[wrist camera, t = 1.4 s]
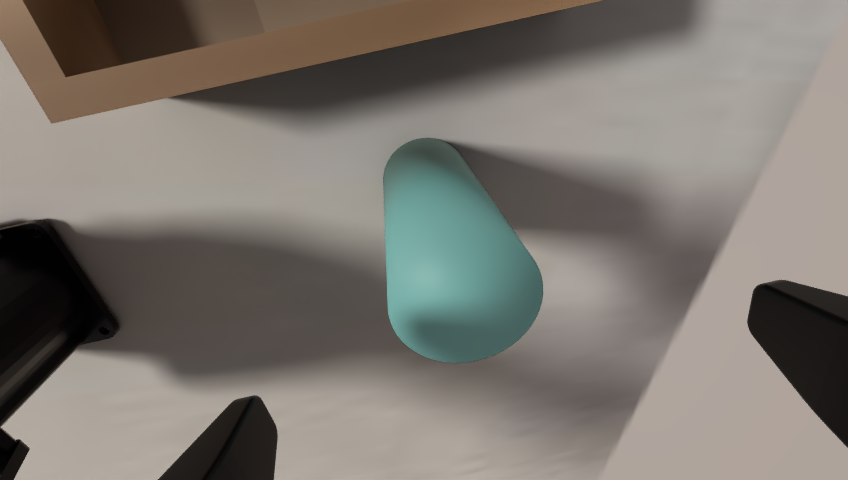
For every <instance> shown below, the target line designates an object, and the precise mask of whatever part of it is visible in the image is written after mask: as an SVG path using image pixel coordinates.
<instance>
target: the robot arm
mask: <svg viewBox="0 0 848 480" xmlns="http://www.w3.org/2000/svg"><path fill="white" fill-rule="evenodd" d="M36 229H38V230H39V231H40V232H41V233H42V235H41V234H39V233H38V232H37V231H36ZM747 323H748V327H749V330H750V332H751V334H752V335H753V337H754V338H755V339H756V341H757V342H758V343H759V344H760V346H761V347H762V348H763V349H764V351H765V352H766V353H767V354H768V356H769V357H770V358H771V359H772V361H773V362H774V363H775V364H776V366H777V367H778V368H779V369H780V371H781V372H782V373H783V374H784V376H785V377H786V378H787V379H788V381H789V382H790V383H791V384H792V386H793V387H794V388H795V389H796V391H797V392H798V393H799V394H800V396H801V397H802V398H803V399H804V401H805V402H806V403H807V404H808V405H809V406H810V408H811V409H812V410H813V411H814V412H815V413H816V414H817V416H818V417H820V419H821V420H822V421H823V422H824V423H825V424H826V425H827V426H828V428H829V429H830V430H831V431H832V432H833V433H834V434H835V435H836V436H837V437H838V438H839V439H840V440H841V441H842V442H843V443H844V444H845V445H846V447H847V448H848V296H844V295H840V294H836V293H832V292H829V291H825V290H821V289H817V288H814V287H809V286H806V285H802V284H798V283H794V282H791V281H786V280H777V281H772V282H768V283H764V284H760V285H758V286H756V288H755V289H754V291H753V294H752V299H751V305H750V310H749V314H748V321H747ZM104 327H107V328H108V329H109V330H108V329H106V328H104ZM119 327H120V326H119V324H118V322H117V321H116V319H115V318H114V316H113V315H112V313H111V312H110V310H109V309H108V308H107V306H106V305H105V303H104V302H103V300H102V299H101V297H100V296H99V294H98V293H97V291H96V290H95V288H94V287H93V285H92V284H91V283H90V281H89V280H88V278H87V277H86V275H85V274H84V272H83V271H82V269H81V268H80V266H79V265H78V263H77V262H76V260H75V259H74V257H73V256H72V255H71V253H70V252H69V250H68V249H67V247H66V246H65V244H64V243H63V241H62V240H61V238H60V237H59V235H58V234H57V232H56V231H55V230H54V228H53V227H52V226H51V225H50V224H49V223H47V222H46V221H43V220H33V221H28V222H24V223H19V224H15V225H10V226H6V227H1V228H0V480H14V478H15V476H16V474H17V472H18V470H19V468H20V467H21V465H22V463H23V461H24V459H25V457H26V455H27V453H28V451H29V449H30V448H29V447H28V446H26V445H25V444H24V443H23V442H22V441H21V440H20V439H18V440H15V439H14V438H13V437H11V436H10V435H9V434H8V433H7V432H6V431H4V430H3V429H2V428H1V426H2V425H3V424H4V423H5V422H6V421H7V420H8V419H9V418H10V417H11V416H12V415H13V414H14V413H15V412H16V411H17V410H18V409H19V408H20V407H21V406H22V405H23V404H24V403H25V402H26V401H27V399H28V398H29V397H30V396H31V395H32V394H33V393H34V392H35V391H36V390H37V389H38V388H39V387H40V386H41V385H42V384H43V383H44V382H45V381H46V380H47V379H48V378H49V377H50V376H51V375H52V374H53V373H54V372H55V371H56V370H57V369H58V368H59V366H60V365H61V364H62V363H63V362H64V361H65V360H66V359H67V358H68V357H69V356H70V355H71V354H72V353H73V352H74V351H75V350H76V349H77V348H78V347H79V346H80V345H82V344H86V343H91V342H95V341H100V340H104V339H109V338H111V337H113V336H114V335H115V334H116V333H117V331H118V330H119ZM277 437H278V436H277V428H276V425H275V423H274V421H273V419H272V417H271V415H270V414H269V412H268V410H267V408H266V406H265V404H264V403H263V401H262V399H261V398H260V397H258V396H249V397H244V398H240V399H237V400H234V401H233V402H232V403H231V404H230V405H229V406H228V407H227V408H226V409H225V410H224V411H223V412H222V413H221V414H220V415H219V416H218V417H217V418H216V419H215V420H214V421H213V422H212V424H211V425H210V426H209V427H208V428H207V429H206V430H205V431H204V432H203V433H202V434H201V435H200V436H199V437H198V438H197V439H196V440H195V441H194V442H193V443H192V445H191V446H190V447H189V448H188V449H187V450H186V451H185V452H184V453H183V454H182V455H181V456H180V457H179V458H178V459H177V460H176V461H175V462H174V463H173V464H172V466H171V467H170V468H169V469H168V470H167V471H166V472H165V473H164V474H163V475H162V476H161V477H160V478H159V479H158V480H274V471H275V460H276V449H277Z"/></svg>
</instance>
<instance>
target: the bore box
mask: <svg viewBox="0 0 848 480" xmlns="http://www.w3.org/2000/svg"><path fill="white" fill-rule="evenodd" d="M598 1H602V0H0V39H1V41H2V42H3V44H4V46H5V47H6V49H7V51H8V52H9V54H10V56H11V57H12V59H13V61H14V62H15V64H16V66H17V67H18V69H19V71H20V72H21V74H22V76H23V77H24V79H25V81H26V82H27V84H28V86H29V87H30V89H31V91H32V92H33V94H34V95H35V97H36V99H37V100H38V102H39V104H40V105H41V107H42V109H43V110H44V112H45V114H46V115H47V117H48V119H49V120H50V122H51V123H56V122H60V121H65V120H69V119H74V118H78V117H83V116H87V115H92V114H96V113H101V112H105V111H110V110H114V109H119V108H123V107H128V106H132V105H137V104H141V103H146V102H150V101H154V100H159V99H163V98H168V97H172V96H177V95H181V94H186V93H190V92H195V91H199V90H204V89H208V88H213V87H217V86H222V85H226V84H231V83H235V82H240V81H244V80H249V79H253V78H258V77H262V76H266V75H271V74H275V73H280V72H284V71H289V70H293V69H298V68H302V67H307V66H311V65H316V64H320V63H325V62H329V61H334V60H338V59H343V58H347V57H352V56H356V55H361V54H365V53H370V52H374V51H378V50H383V49H387V48H392V47H396V46H401V45H405V44H410V43H414V42H419V41H423V40H428V39H432V38H437V37H441V36H446V35H450V34H455V33H459V32H464V31H468V30H473V29H477V28H482V27H486V26H490V25H495V24H499V23H504V22H508V21H513V20H517V19H522V18H526V17H531V16H535V15H540V14H544V13H549V12H553V11H558V10H562V9H567V8H571V7H576V6H580V5H585V4H589V3H594V2H598Z"/></svg>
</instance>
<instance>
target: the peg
mask: <svg viewBox="0 0 848 480" xmlns="http://www.w3.org/2000/svg"><path fill="white" fill-rule="evenodd" d="M383 186H384V216H385V245H386V274H387V303H388V314H389V319H390V322H391V324H392V327H393V329H394V331H395V332H396V334H397V336H398V337H399V338H400V339H401V341H402V342H403V343H404V344H406V345H407V346H408V347H409V348H410V349H412V350H413V351H415V352H416V353H418V354H420V355H422V356H424V357H427V358H430V359H433V360H437V361H441V362H448V363H464V362H472V361H478V360H481V359H485V358H488V357H490V356H493V355H495V354H497V353H499V352H501V351H503V350H505V349H507V348H508V347H510V346H511V345H513V344H514V343H515V342H516V341H518V340H519V339H520V338H521V337H522V336H523V335H524V334H525V333H526V332H527V330H528V329H529V328H530V327H531V325H532V324H533V322H534V320H535V319H536V317H537V314H538V312H539V310H540V307H541V303H542V298H543V282H542V276H541V273H540V270H539V268H538V266H537V264H536V262H535V260H534V259H533V258H532V256H531V255H530V253H529V252H528V250H527V249H526V248H525V246H524V245H523V243H522V242H521V240H520V239H519V238H518V236H517V235H516V233H515V232H514V230H513V229H512V228H511V226H510V225H509V223H508V222H507V221H506V219H505V218H504V216H503V215H502V213H501V212H500V211H499V209H498V208H497V206H496V205H495V203H494V202H493V201H492V199H491V198H490V196H489V195H488V193H487V192H486V191H485V189H484V188H483V186H482V185H481V183H480V182H479V181H478V179H477V178H476V176H475V175H474V174H473V172H472V171H471V169H470V168H469V166H468V165H467V164H466V162H465V161H464V159H463V158H462V156H461V155H460V154H459V152H458V151H457V150H456V149H455V148H454V147H452V146H451V145H449V144H448V143H446V142H444V141H441V140H438V139H433V138H421V139H416V140H412V141H410V142H408V143H406V144H404V145H402V146H401V147H400V148H398V149H397V150H396V151H395V152H394V153H393V154H392V156H391V157H390V159H389V160H388V162H387V165H386V167H385V171H384V177H383Z"/></svg>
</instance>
